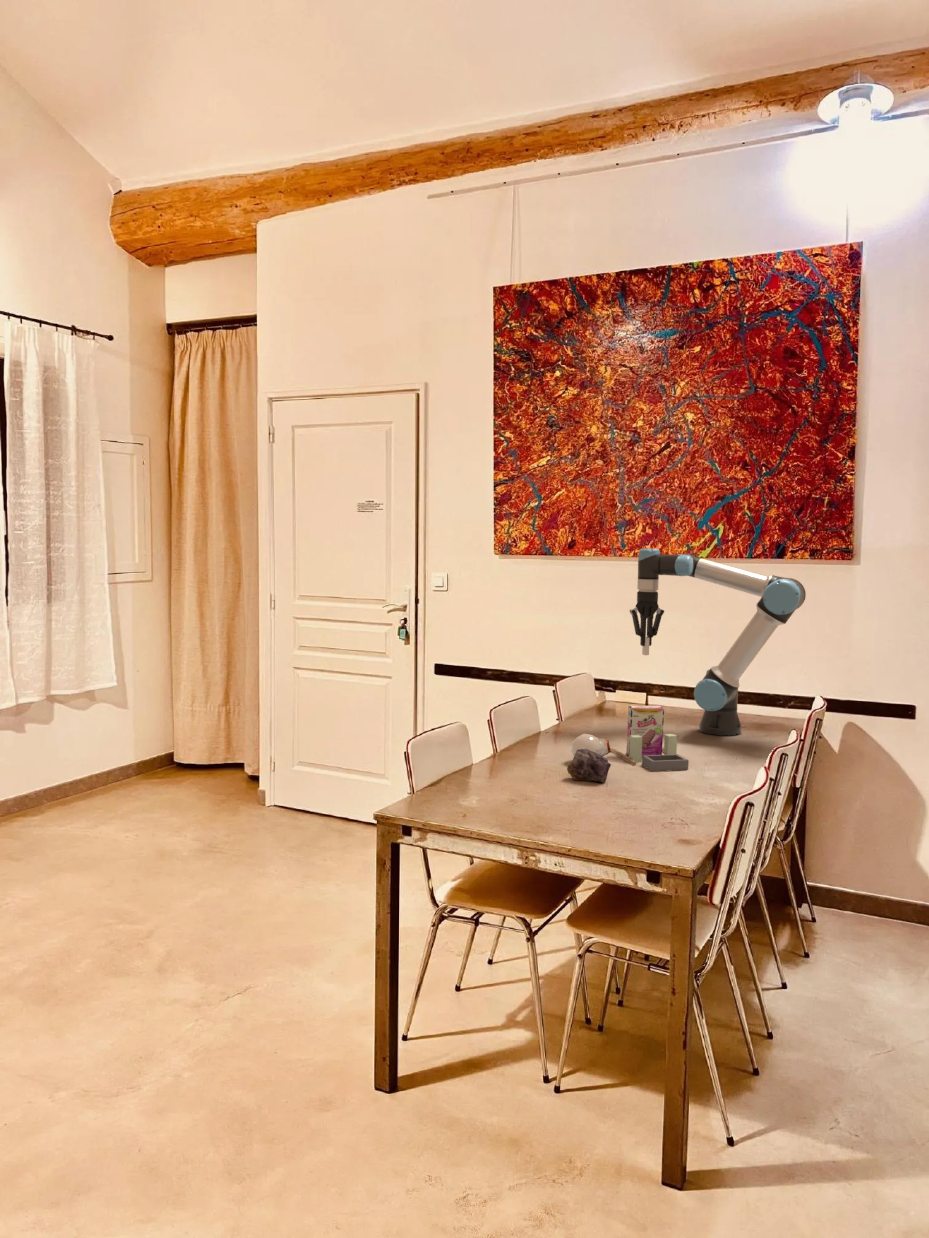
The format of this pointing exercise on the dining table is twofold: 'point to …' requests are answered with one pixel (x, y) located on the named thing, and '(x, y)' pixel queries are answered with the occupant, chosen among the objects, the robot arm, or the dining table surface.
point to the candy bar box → (646, 728)
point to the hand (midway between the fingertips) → (645, 654)
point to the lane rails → (625, 755)
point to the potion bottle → (591, 744)
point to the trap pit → (665, 762)
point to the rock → (588, 766)
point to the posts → (636, 746)
